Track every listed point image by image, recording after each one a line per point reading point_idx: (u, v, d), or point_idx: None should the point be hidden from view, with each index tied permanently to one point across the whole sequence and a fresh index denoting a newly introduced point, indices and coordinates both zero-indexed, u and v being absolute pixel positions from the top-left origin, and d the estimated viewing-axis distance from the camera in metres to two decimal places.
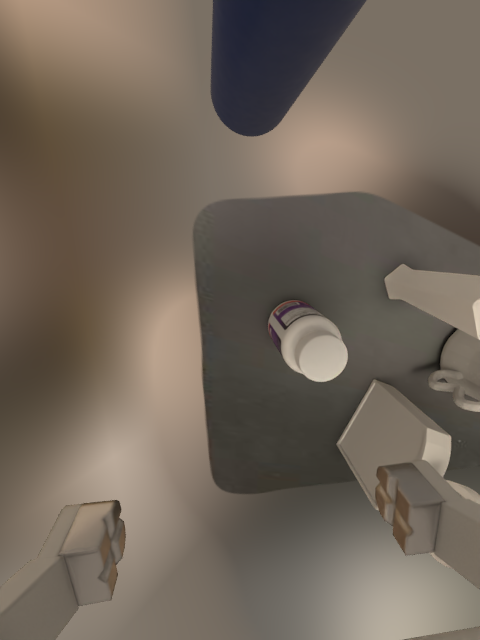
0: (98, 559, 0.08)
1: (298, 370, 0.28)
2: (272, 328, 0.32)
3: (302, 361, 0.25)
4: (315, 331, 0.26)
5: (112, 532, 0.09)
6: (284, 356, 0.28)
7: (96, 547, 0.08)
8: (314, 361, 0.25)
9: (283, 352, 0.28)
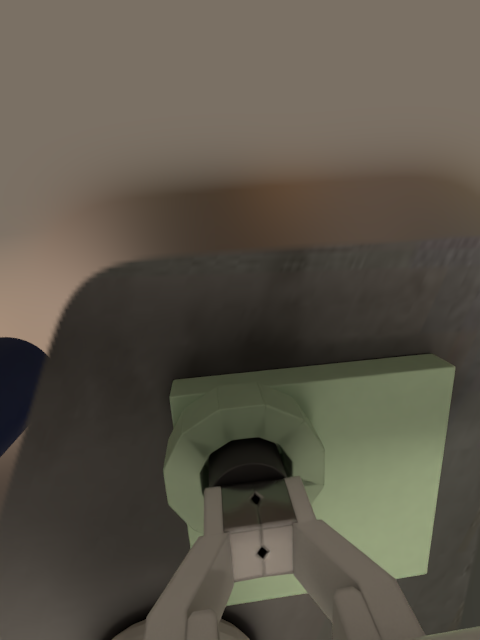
0: (258, 536, 0.08)
1: None
2: None
3: None
4: None
5: None
6: None
7: (258, 525, 0.08)
8: None
9: None
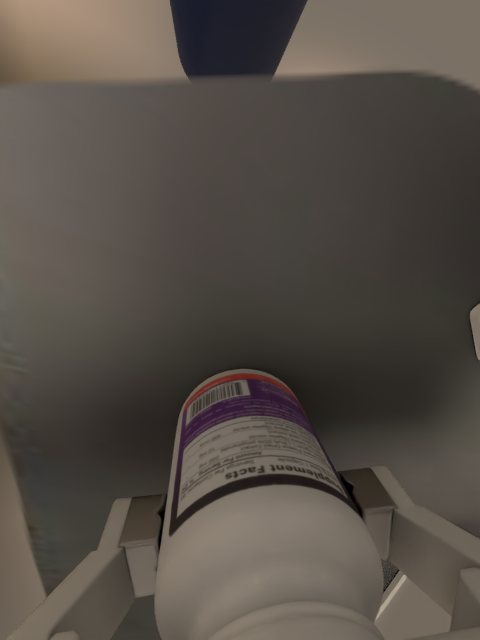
0: (156, 551, 0.08)
1: None
2: None
3: None
4: (270, 624, 0.05)
5: None
6: None
7: (155, 539, 0.08)
8: None
9: None
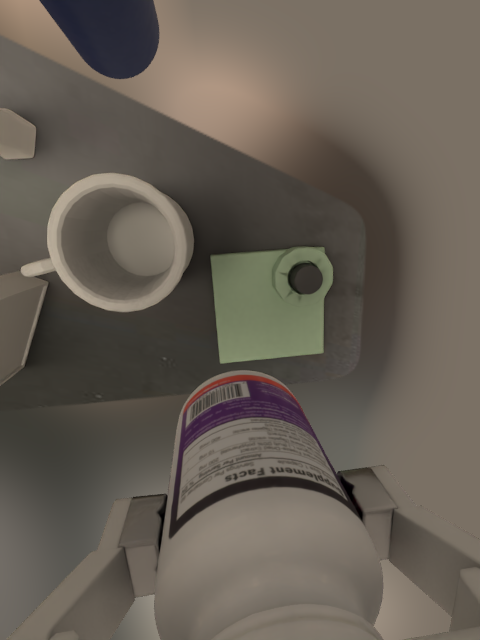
0: (156, 551, 0.08)
1: None
2: None
3: None
4: (269, 627, 0.05)
5: None
6: None
7: (155, 539, 0.08)
8: None
9: None
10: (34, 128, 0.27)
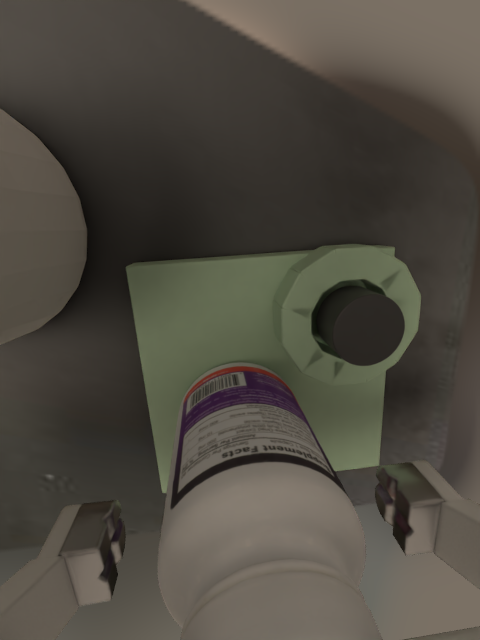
0: (98, 559, 0.08)
1: None
2: (173, 447, 0.12)
3: None
4: (259, 577, 0.06)
5: (112, 532, 0.09)
6: None
7: (96, 548, 0.08)
8: None
9: (161, 591, 0.08)
10: None
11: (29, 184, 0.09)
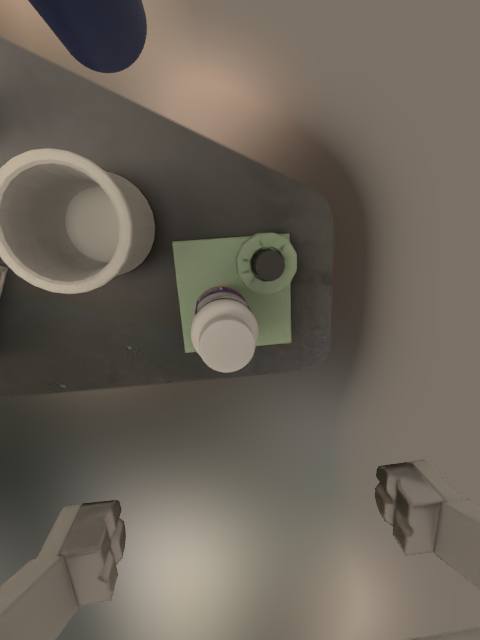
0: (98, 559, 0.08)
1: None
2: None
3: (203, 349, 0.22)
4: (220, 316, 0.23)
5: (112, 532, 0.09)
6: (193, 345, 0.25)
7: (96, 548, 0.08)
8: (216, 350, 0.22)
9: (192, 340, 0.25)
10: None
11: (143, 209, 0.26)
